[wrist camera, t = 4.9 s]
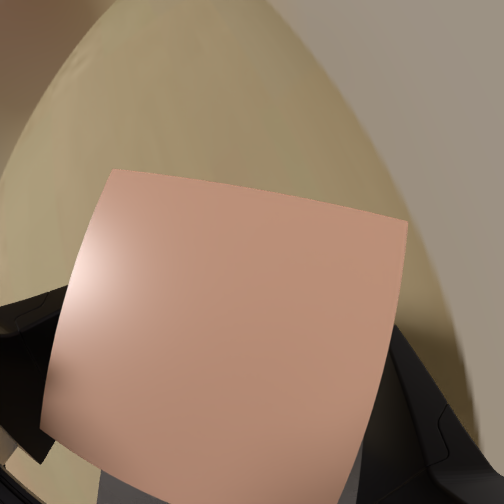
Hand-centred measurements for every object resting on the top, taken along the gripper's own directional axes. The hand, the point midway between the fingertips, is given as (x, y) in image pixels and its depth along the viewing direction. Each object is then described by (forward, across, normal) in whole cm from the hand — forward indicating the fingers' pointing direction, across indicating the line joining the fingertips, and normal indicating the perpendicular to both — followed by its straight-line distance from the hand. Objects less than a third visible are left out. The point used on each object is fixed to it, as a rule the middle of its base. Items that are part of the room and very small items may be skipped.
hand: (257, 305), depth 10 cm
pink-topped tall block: (+4, 0, +6) cm, 7 cm away
